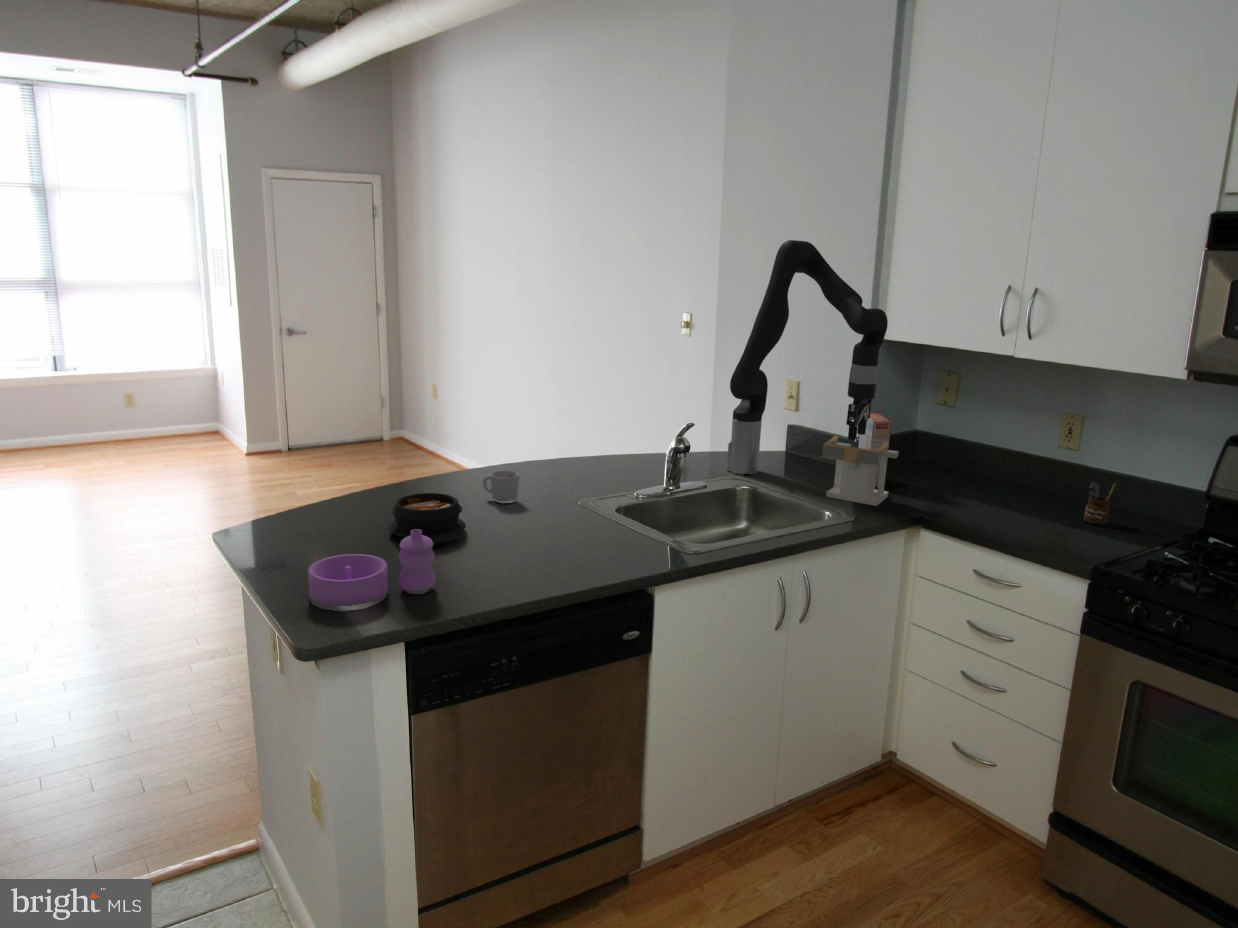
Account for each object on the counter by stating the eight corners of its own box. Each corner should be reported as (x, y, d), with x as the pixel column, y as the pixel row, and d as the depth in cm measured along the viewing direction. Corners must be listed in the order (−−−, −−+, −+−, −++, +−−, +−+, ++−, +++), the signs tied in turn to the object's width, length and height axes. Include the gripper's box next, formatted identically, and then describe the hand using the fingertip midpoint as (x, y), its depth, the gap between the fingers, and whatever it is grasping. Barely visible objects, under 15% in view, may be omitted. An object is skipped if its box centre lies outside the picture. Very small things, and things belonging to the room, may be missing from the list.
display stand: (814, 497, 262) (819, 447, 258) (831, 486, 275) (835, 438, 271) (882, 510, 252) (888, 458, 248) (896, 497, 264) (902, 448, 261)
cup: (476, 502, 247) (476, 474, 245) (490, 494, 254) (490, 467, 252) (510, 507, 243) (510, 479, 241) (524, 500, 250) (524, 472, 248)
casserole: (378, 522, 227) (377, 491, 225) (450, 514, 235) (449, 484, 233) (402, 555, 206) (401, 520, 204) (479, 544, 214) (479, 511, 212)
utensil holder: (1087, 517, 252) (1094, 476, 249) (1111, 523, 247) (1119, 481, 244) (1079, 522, 248) (1087, 480, 245) (1104, 527, 243) (1111, 485, 240)
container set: (309, 615, 173) (305, 551, 170) (310, 585, 187) (307, 526, 184) (439, 603, 180) (438, 542, 177) (431, 575, 194) (430, 518, 191)
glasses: (821, 458, 259) (823, 444, 258) (834, 448, 271) (835, 435, 270) (877, 466, 252) (879, 452, 251) (887, 455, 264) (889, 442, 263)
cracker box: (884, 488, 274) (892, 421, 269) (865, 487, 274) (872, 421, 269) (873, 476, 288) (880, 412, 283) (854, 475, 288) (861, 412, 283)
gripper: (857, 376, 257) (851, 430, 262) (841, 382, 246) (835, 439, 250) (883, 379, 254) (876, 434, 258) (868, 385, 242) (862, 443, 246)
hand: (856, 436), depth 254 cm, fingers open, 8 cm apart
